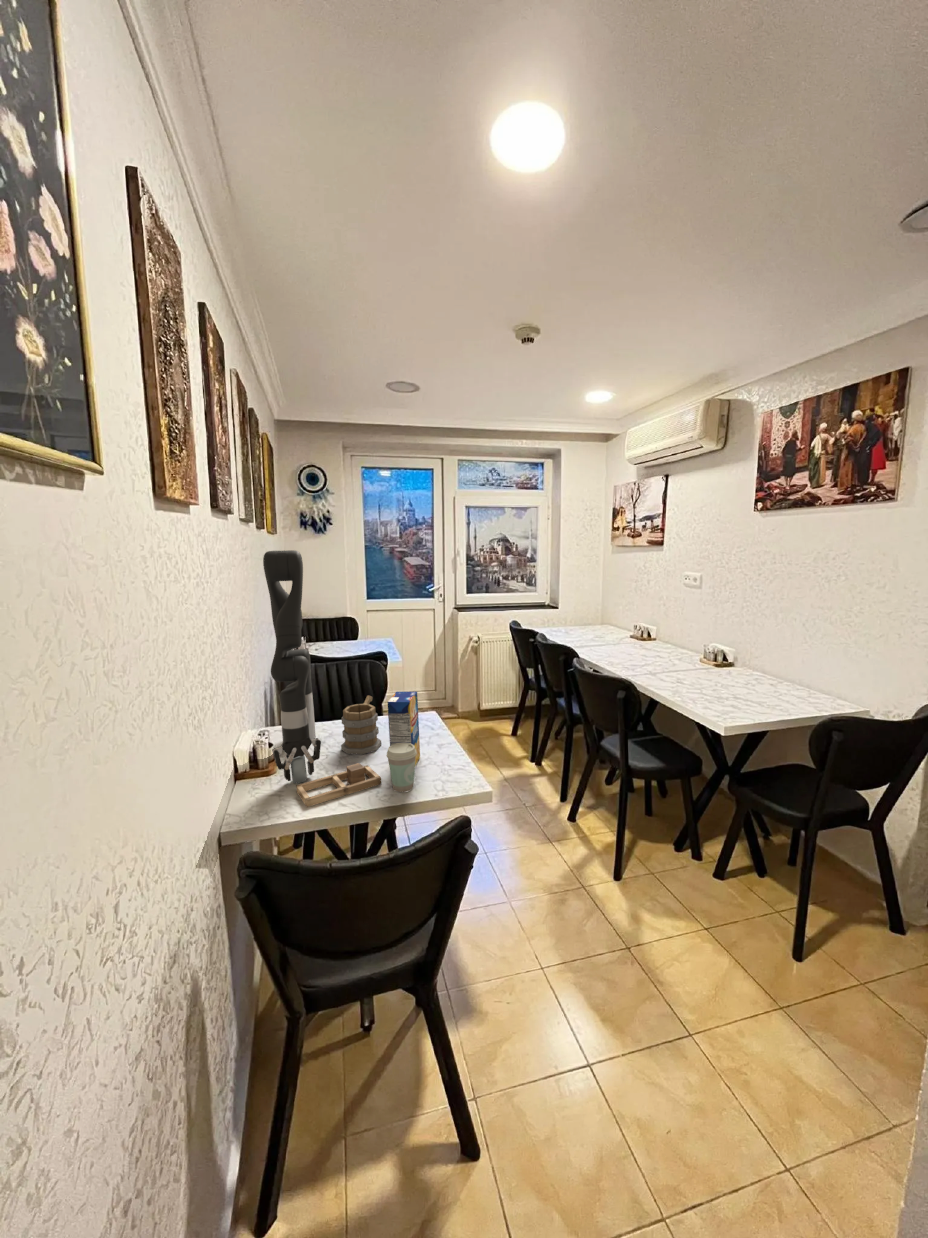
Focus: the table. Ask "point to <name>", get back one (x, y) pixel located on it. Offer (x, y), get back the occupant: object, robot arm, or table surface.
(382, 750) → the table surface
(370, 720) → the tankard
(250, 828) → the table surface
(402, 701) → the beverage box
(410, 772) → the coffee cup
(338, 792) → the frame
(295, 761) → the grey shaker
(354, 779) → the walnut block
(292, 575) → the robot arm
